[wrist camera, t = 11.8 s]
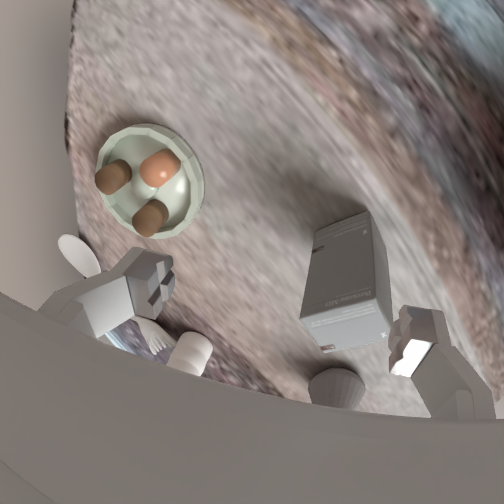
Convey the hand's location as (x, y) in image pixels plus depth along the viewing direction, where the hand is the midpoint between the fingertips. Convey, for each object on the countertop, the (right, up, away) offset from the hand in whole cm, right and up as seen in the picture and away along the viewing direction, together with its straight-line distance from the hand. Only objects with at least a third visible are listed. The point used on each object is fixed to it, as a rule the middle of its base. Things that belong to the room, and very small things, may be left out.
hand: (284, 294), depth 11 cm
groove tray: (-16, +12, +33) cm, 39 cm away
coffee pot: (+13, -26, +51) cm, 59 cm away
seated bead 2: (-15, +7, +35) cm, 39 cm away
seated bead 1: (-20, +13, +33) cm, 41 cm away
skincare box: (+12, +3, +31) cm, 34 cm away
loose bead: (-12, +13, +30) cm, 35 cm away
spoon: (-28, -6, +50) cm, 58 cm away
